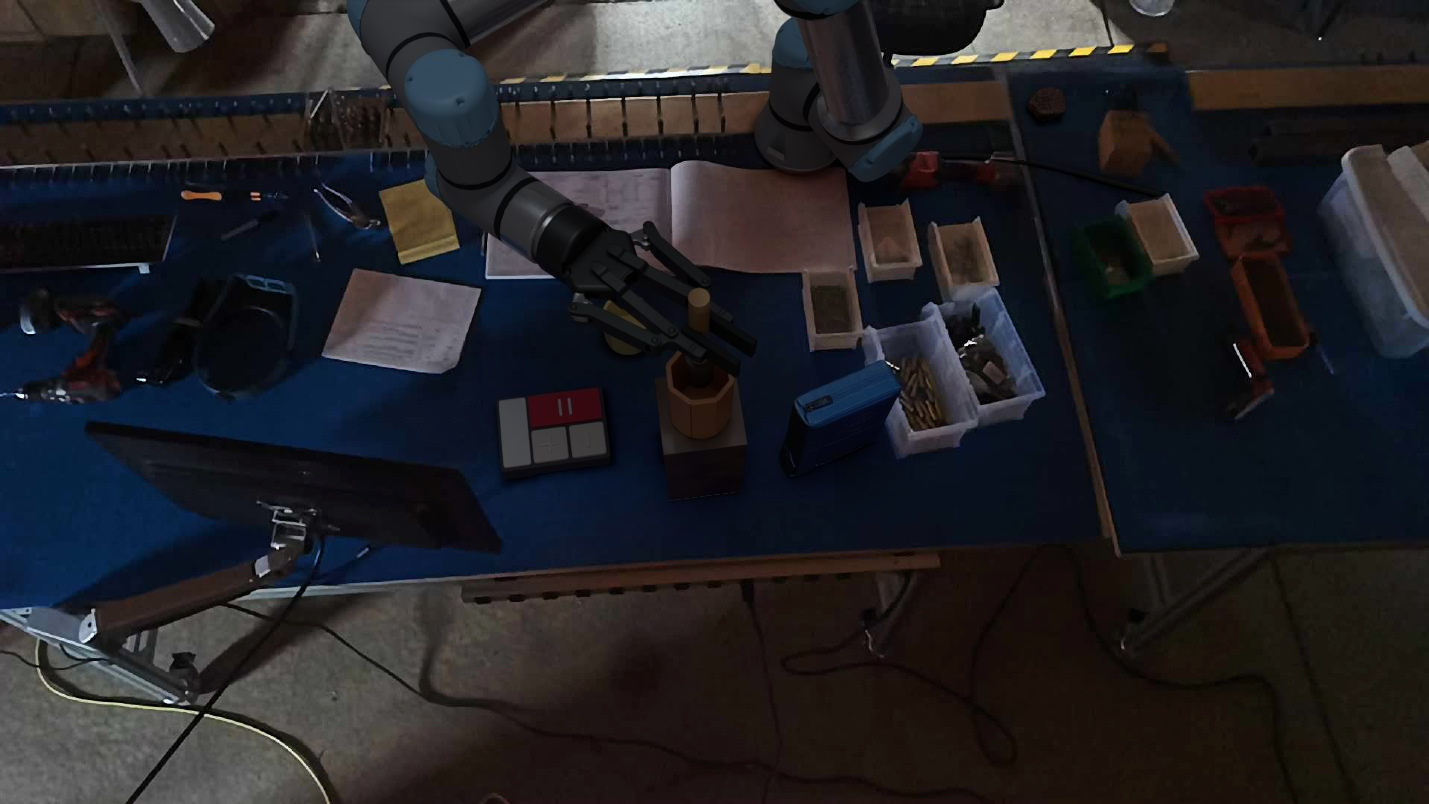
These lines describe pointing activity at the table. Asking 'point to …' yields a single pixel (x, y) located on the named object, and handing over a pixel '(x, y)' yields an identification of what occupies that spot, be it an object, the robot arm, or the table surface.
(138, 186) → the table surface
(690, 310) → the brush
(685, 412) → the octagonal pencil cup
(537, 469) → the button panel
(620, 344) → the rinse cup
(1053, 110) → the stone
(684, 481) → the stand
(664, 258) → the robot arm
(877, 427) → the book
